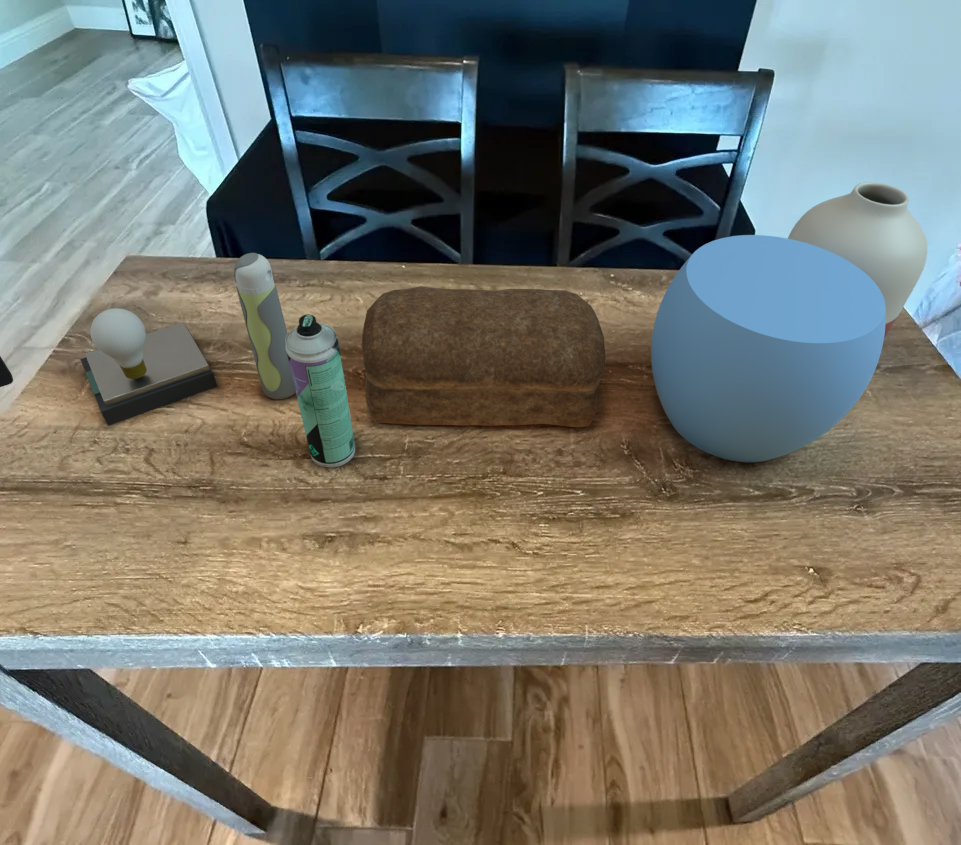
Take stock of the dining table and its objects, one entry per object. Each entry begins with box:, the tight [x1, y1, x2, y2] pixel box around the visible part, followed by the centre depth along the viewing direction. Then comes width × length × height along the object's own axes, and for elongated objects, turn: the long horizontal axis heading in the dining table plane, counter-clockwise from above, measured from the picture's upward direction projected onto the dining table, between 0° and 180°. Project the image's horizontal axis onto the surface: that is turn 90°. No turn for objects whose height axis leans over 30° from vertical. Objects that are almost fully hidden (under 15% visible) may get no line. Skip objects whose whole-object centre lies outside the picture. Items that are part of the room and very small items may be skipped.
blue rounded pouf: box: [650, 234, 886, 463], centre depth 82 cm, size 25×25×20 cm
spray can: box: [285, 314, 356, 469], centre depth 76 cm, size 6×6×20 cm
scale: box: [80, 322, 219, 427], centre depth 90 cm, size 14×12×4 cm
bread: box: [361, 286, 606, 428], centre depth 87 cm, size 17×30×13 cm, turn 90°
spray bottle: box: [233, 252, 296, 400], centre depth 84 cm, size 5×5×20 cm
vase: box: [787, 181, 928, 340], centre depth 92 cm, size 17×17×24 cm
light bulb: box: [89, 307, 147, 379], centre depth 83 cm, size 6×6×10 cm
